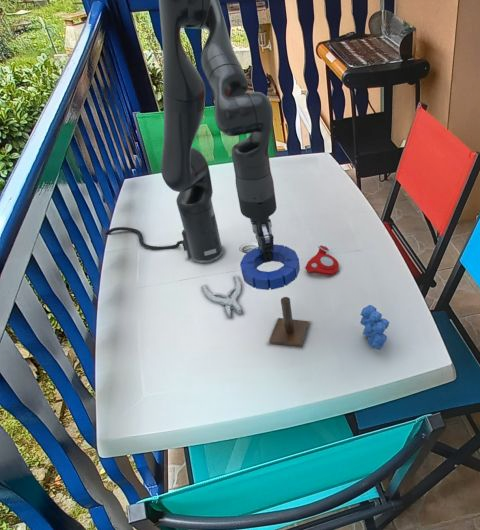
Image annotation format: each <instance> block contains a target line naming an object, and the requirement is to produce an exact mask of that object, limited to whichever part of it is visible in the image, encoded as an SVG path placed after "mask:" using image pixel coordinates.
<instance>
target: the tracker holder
mask: <svg viewBox="0 0 480 530" xmlns="http://www.w3.org/2000/svg"><path fill="white" fill-rule="evenodd" d="M317 248H318V251H317V252H316V254H315V255H314V256H312V257H311V258H310V259H309V260H308V261H307V263H306V266H305V267H304V268H305V271H306V273H307V274H310V273H312V274H319V275H322V276H334V275H336V274H337V273H338V272H339V268H340V264H339V261H338V260H337V259H336V258H335V257H334V256H333V255H331V254H329V253H327V252H329V251H330V249H328V248H329V247H327V246H326V245H322V244H321V245H318V246H317Z"/></svg>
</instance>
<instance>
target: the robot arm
mask: <svg viewBox="0 0 480 530" xmlns="http://www.w3.org/2000/svg"><path fill="white" fill-rule="evenodd" d="M158 6H159V7H158V8H159V18H160V29H161V30H160V31H161V40H162V42H161V43H162V66H163V67H162V103H163V104H162V105H163V143H162V144H163V146H162V154H161V162H160V172H161V176H162V177H161V178H162V179H163V182H164V183H165V184H166V186H167V187H168V188H169V189H170V190H172V191H174V192H175V193H176V192H177V193H178V194H177V197H176V199H175V200H176V206H177V210H178V213H179V217H180V220H181V225H182V227H183V230H181V235H182V240H179V241H176V243H175V244H173V245H167V246H156V245H155V246H154V245H150V244H146V243H145V242H144V239H143V235H142V232H141V231H140V230H138V229H136V228H133V227H127V226H118V227H112V228H110V229H108V230H106V232H105V233H104V235H106V236H108V235H110V234H111V233H113V232H116V231H127V232H133V233H136V234H137V235H138V242H139V244H140V245H141V246H142V248H143V247H144V248H145V249H148V250H155V251H161V250H163V251H164V250H171V249H177V248H179V247H180V245H182V248H183V251H185V252H186V253H187V257H188V259H190V260H192V261H194V262H195V263H197V264H210V263H212V262H216V261H218V260H219V259H220V258H221V257H222V256H223V254H224V248H223V245H222V241H221V236H220V230H219V227H218V222H217V219H216V218H217V217H216V214H215V213H216V212H215V209H214V205H213V199H212V197H213V193H214V191H213V190H214V189H213V184H212V178H211V177H212V176H211V172H210V167H209V164H208V161H207V159H206V157H205V156H204V154H202V152H201V151H199V150H198V149H196V148H195V147H193V144H194V142H195V138H196V136H197V134H198V132H199V130H200V126H201V124H202V122H203V119H204V114H205V109H206V108H205V107H206V85H205V82H204V80H203V78H202V75H200V73H199V71H198V69H197V68H196V67H195V65H194V64H193V62H192V60H191V58H190V57H189V56H188V54H187V52H186V51H185V48H184V46H183V44H182V43H183V42H182V39H181V29H194V30H204V29H206V30H207V31H208V36H207V38H206V40H205V42H204V45H203V47H202V50H201V54H200V65H201V69H202V71H203V73H204V76H205V78H206V80H207V83H208V85H209V87H210V89H211V93H212V96H213V106H214V107H213V108H214V109H213V111H214V120H215V124H216V127H217V128H218V130H219V131H220V132H221V133H222V134H223V135H226V136H228V137H238V136H243V135H248V134H250V135H249V136H248V137H246V138H244V139H243V140H241V141H238V142H237V143H235V144H234V145H233V146H232V148H231V159H232V164H233V165H232V166H233V171H234V177H235V188H236V193H237V198H238V199H237V200H238V204H239V209H240V213H241V215H242V216H244V217H245V218H247V219H249V221H250V224H251V228H252V231H253V233H254V236H255V239H256V242H257V244H258V245H257V247H260V249H261V254H262V260H263V262H264V263H263V264H266V263H270V262H273V261H272V260H273V258H272V251H274V247H273V244H274V238H275V237H274V235H273V233H272V227H273V223H272V220H271V218H270V217H271V216H272V215H273V214H274V213H276V210H277V200H276V199H277V198H276V192H275V191H276V190H275V185H274V178H273V175H272V171H271V164H270V163H271V162H270V156H269V148H270V141H271V140H270V139H271V134H272V128H273V120H274V109H273V106H272V103H271V100H270V99H269V98H268V96H267V95H266V94H264V93H263V92H260V91H252V92H248V89H249V80H248V78H247V75H246V73H245V71H244V70H243V67H242V65H241V64H240V61H239V58H238V56H237V55H236V53H235V50H234V48H233V45H232V42H231V39H230V35H229V31H228V28H227V23H226V20H225V16H224V13H223V9H222V6H221V3H220V1H219V0H158Z"/></svg>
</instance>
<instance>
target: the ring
mask: <svg viewBox="0 0 480 530" xmlns="http://www.w3.org/2000/svg"><path fill="white" fill-rule="evenodd" d="M273 247H274V251H272V258H273V260H272V261H271V262H275V263H281V264H282V266H281V267H279V268H278V269H274V270H271V271H266V270H265V271H264V270H260V269H259V268H258V267H260V266H261V265H263V264H265V263H264V262H263V260H262V254H261V249H260V247H258V246H257V247H254V248H253V249H251V250H250V251H247V252H246V253H245V254H243V255H244V256H243V257H242V259H241V261H240V263H239V266H240V272H241V275H242V278H243V281H244V283H245V284H246V285H249V286H250V287H252V288H253V289H256V290H264V291H273V290H276V289H281V288H284V287H286V286H287V287H288V285H289V284H292V282H294V281H295V280H296V279H297V278H298V276H299V273H300V270H301V268H300V267H301V266H300V259H299V256H298V254H297V252H296V251H295V249H292V248H290V247H289V246H287V245H284V244H274V243H273Z"/></svg>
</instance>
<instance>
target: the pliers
mask: <svg viewBox="0 0 480 530" xmlns="http://www.w3.org/2000/svg"><path fill="white" fill-rule="evenodd" d="M234 280H235V286H234V287H233V288H231V289H230V291H229V292H228V297H231V298H227V299H226V297H225V295H224V294H221V293H212V292H210V290H208V288H207V287H206V285H205V284H204V285H202V289H203V293H204V295H205V296H206V297H207V299H209V300H210V301H211V302H213V303H215V304H219V305H222V306H224V307H225V311H226V314H227V316H228V318H229V319H231V318H232V310H234V311H235V312H236V313H237V314H238V315H241V314H242V313H243V312H242V309H241V306H240V305H239V303H238V302H237V299H238V298H239V296H240V295H241V291H242V284H241V280H240V278H239V277H238V276H237V275H234Z"/></svg>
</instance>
